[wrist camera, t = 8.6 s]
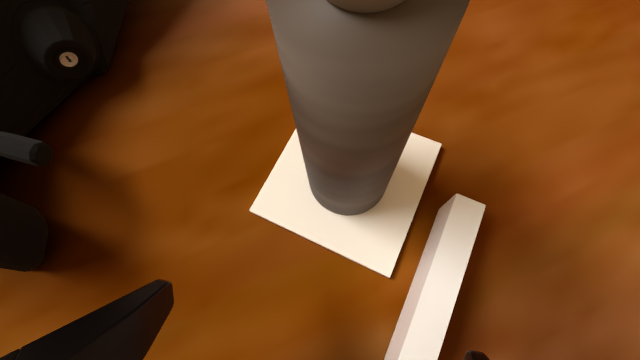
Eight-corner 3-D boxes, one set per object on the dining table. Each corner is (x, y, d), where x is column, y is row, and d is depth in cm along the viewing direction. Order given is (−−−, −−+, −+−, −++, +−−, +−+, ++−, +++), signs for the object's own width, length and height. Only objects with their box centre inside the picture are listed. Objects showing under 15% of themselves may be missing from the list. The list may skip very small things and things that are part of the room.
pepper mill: (392, 211, 19) (574, -73, 4) (311, 218, 19) (233, -37, 4) (380, 139, 20) (483, -232, 6) (306, 146, 20) (238, -204, 6)
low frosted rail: (364, 516, 14) (370, 569, 11) (334, 496, 14) (333, 544, 12) (463, 219, 19) (485, 205, 16) (438, 208, 19) (456, 193, 16)
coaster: (388, 278, 18) (389, 277, 17) (250, 212, 19) (249, 210, 19) (439, 146, 20) (441, 143, 20) (314, 99, 22) (314, 96, 22)
